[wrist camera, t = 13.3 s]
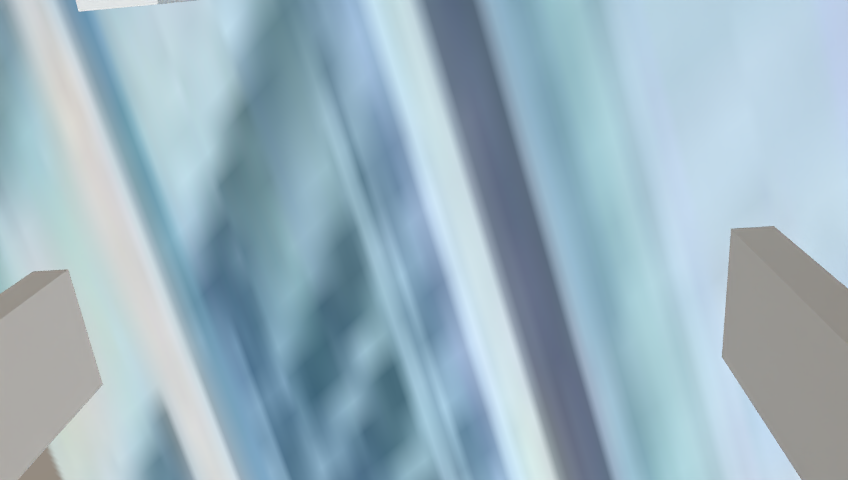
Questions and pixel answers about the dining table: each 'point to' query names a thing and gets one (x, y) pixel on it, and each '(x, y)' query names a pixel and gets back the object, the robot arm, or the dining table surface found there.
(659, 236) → the dining table surface
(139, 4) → the light grey rectangular block
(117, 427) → the dining table surface
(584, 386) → the dining table surface
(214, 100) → the dining table surface
